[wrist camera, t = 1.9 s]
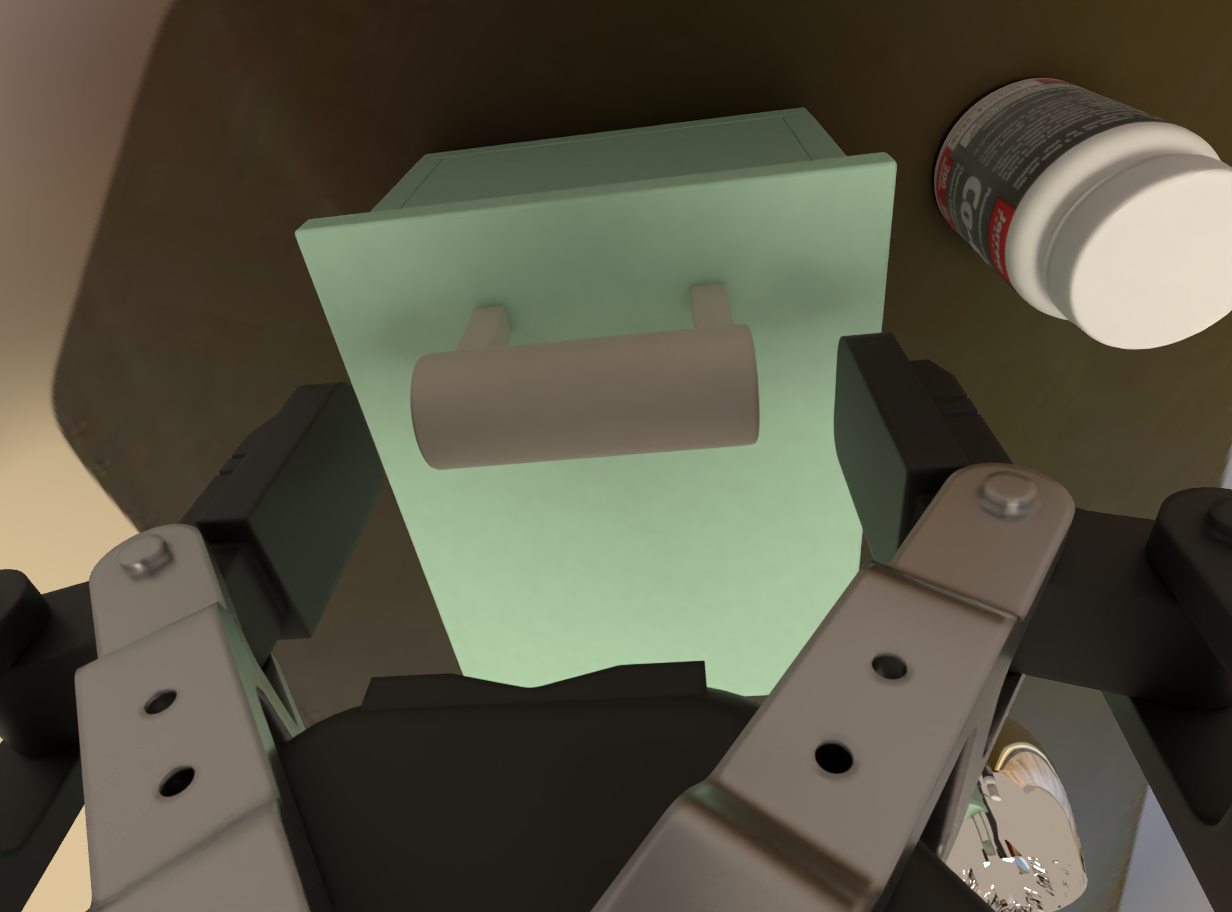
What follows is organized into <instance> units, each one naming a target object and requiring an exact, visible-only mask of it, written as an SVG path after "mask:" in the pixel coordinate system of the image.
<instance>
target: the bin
mask: <svg viewBox="0 0 1232 912" xmlns="http://www.w3.org/2000/svg"><path fill="white" fill-rule="evenodd" d="M838 157H846V155H845V154H844V153H843V151H842V150H841V149H840V148H839V147H838V145H837V144H836V143H835V142H834V141H833V139H832V138H831V137H830V136H829V135H828V133H827V132H826V131H825V130H824V129H823V128H822V126H821V125H820V124H819V123H818V122H817V120H816V119H815V118H814V117H813V116H812V114H811V113H809V112H808V110H807V109H806V108H804V107H801V108H793V109H785V110H777V111H769V112H761V113H753V114H745V115H737V116H729V117H721V118H713V119H705V120H696V121H688V122H680V123H672V124H664V125H656V126H648V127H640V128H632V129H624V130H616V131H608V132H600V133H592V134H584V135H576V136H568V137H560V138H552V139H544V140H536V141H528V142H520V143H512V144H504V145H495V146H487V147H479V148H471V149H463V150H455V151H447V152H439V153H431V154H426V155H424V156H423V157H422V158H421V159H420V161H418V162H417V163H416V164H415V165H414V166H413V167H412V168H411V170H410V171H409V172H408V173H407V174H406V175H405V176H404V177H403V178H402V179H401V180H400V181H399V182H398V183H397V184H396V185H395V186H394V187H393V188H392V189H391V191H390V192H389V193H388V194H387V195H386V196H385V197H384V198H383V199H382V200H381V201H380V202H379V203H378V204H377V205H376V206H375V207H374V208H373V209H372V211H371V212H377V211H385V210H394V209H402V208H411V207H419V206H428V205H436V204H445V203H453V202H462V201H470V200H479V199H488V198H496V197H505V196H513V195H522V194H530V193H539V192H547V191H556V190H564V189H573V188H581V187H590V186H599V185H607V184H616V183H624V182H633V181H641V180H650V179H658V178H667V177H675V176H684V175H692V174H701V173H710V172H718V171H727V170H735V169H744V168H752V167H761V166H769V165H778V164H786V163H795V162H803V161H812V160H821V159H829V158H838Z"/></svg>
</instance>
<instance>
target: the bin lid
mask: <svg viewBox="0 0 1232 912" xmlns="http://www.w3.org/2000/svg"><path fill="white" fill-rule="evenodd" d="M896 171H897V164H896V161H895V160H894V159H892V158H891V157H890V156H889V155H888V154H887V153H885V152H880V153H872V154H863V155H855V156H846V157H838V158H829V159H821V160H812V161H803V162H795V163H786V164H778V165H769V166H761V167H752V168H744V169H735V170H727V171H718V172H710V173H701V174H692V175H684V176H675V177H667V178H658V179H650V180H641V181H633V182H624V183H616V184H607V185H599V186H590V187H581V188H573V189H564V190H556V191H547V192H539V193H530V194H522V195H513V196H505V197H496V198H488V199H479V200H470V201H462V202H453V203H445V204H436V205H428V206H419V207H411V208H402V209H394V210H385V211H377V212H368V213H359V214H351V215H342V216H334V217H325V218H317V219H309V220H308V221H306V222H305V223H304V224H303V225H302V226H301V227H300V228H298V229H297V230H296V231H295V236H296V239H297V241H298V244H299V247H300V249H301V252H302V255H303V257H304V260H305V262H306V265H307V268H308V270H309V273H310V275H311V278H312V281H313V283H314V286H315V288H316V291H317V294H318V296H319V299H320V302H321V304H322V307H323V309H324V312H325V315H326V317H327V320H328V322H329V325H330V328H331V330H332V333H333V336H334V338H335V341H336V343H337V346H338V349H339V351H340V354H341V356H342V359H343V362H344V364H345V367H346V370H347V372H348V375H349V377H350V380H351V383H352V385H353V388H354V390H355V393H356V396H357V398H358V401H359V404H360V406H361V409H362V411H363V414H364V417H365V419H366V422H367V424H368V427H369V430H370V432H371V435H372V437H373V440H374V443H375V445H376V448H377V451H378V453H379V456H380V458H381V461H382V464H383V466H384V469H385V471H386V474H387V477H388V479H389V482H390V485H391V487H392V490H393V492H394V495H395V498H396V500H397V503H398V505H399V508H400V511H401V513H402V516H403V519H404V521H405V524H406V526H407V529H408V532H409V534H410V537H411V539H412V542H413V545H414V547H415V550H416V552H417V555H418V558H419V560H420V563H421V566H422V568H423V571H424V573H425V576H426V579H427V581H428V584H429V586H430V589H431V592H432V594H433V597H434V600H435V602H436V605H437V607H438V610H439V613H440V615H441V618H442V620H443V623H444V626H445V628H446V631H447V634H448V636H449V639H450V641H451V644H452V647H453V649H454V652H455V654H456V657H457V660H458V662H459V665H460V668H461V670H462V673H463V675H464V676H467V677H472V678H478V679H483V680H488V681H494V682H499V683H504V684H510V685H515V686H520V687H528V688H529V687H538V686H543V685H546V684H550V683H554V682H558V681H561V680H565V679H569V678H573V677H576V676H580V675H584V674H588V673H591V672H595V671H599V670H603V669H606V668H610V667H614V666H617V665H627V664H646V663H666V662H686V661H705V671H706V683H707V687H710V688H716V689H721V690H725V691H728V692H732V693H735V694H738V695H742V696H757V695H769V694H770V692H771V691H772V690H773V688H774V687H775V685H776V684H777V683H778V681H779V680H780V679H781V677H782V676H783V674H784V673H785V672H786V670H787V669H788V668H789V666H790V665H791V663H792V662H793V661H794V659H795V658H796V657H797V655H798V654H799V652H800V651H801V650H802V648H803V647H804V646H805V644H806V643H807V641H808V640H809V639H810V637H811V636H812V635H813V633H814V632H815V630H816V629H817V628H818V626H819V625H820V624H821V622H822V621H823V619H824V618H825V617H826V615H827V614H828V613H829V611H830V610H831V608H832V607H833V606H834V604H835V603H836V602H837V600H838V599H839V597H840V596H841V595H842V593H843V592H844V591H845V589H846V588H847V586H848V585H849V584H850V582H851V581H852V580H853V578H854V577H855V575H856V574H857V573H858V571H859V564H860V553H861V543H862V532H863V529H862V526H861V523H860V520H859V517H858V515H857V512H856V509H855V506H854V503H853V500H852V498H851V495H850V492H849V489H848V486H847V483H846V481H845V478H844V475H843V472H842V469H841V466H840V463H839V461H838V457H837V453H836V448H835V441H834V403H835V385H836V366H837V349H838V343H839V339H840V337H841V336H849V335H859V334H870V333H880V332H881V331H882V320H883V309H884V299H885V288H886V277H887V267H888V256H889V246H890V235H891V224H892V214H893V203H894V192H895V182H896Z"/></svg>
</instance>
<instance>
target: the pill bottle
mask: <svg viewBox="0 0 1232 912" xmlns="http://www.w3.org/2000/svg"><path fill="white" fill-rule="evenodd" d="M934 189H935V195H936V200H937V203H938V206H939V209H940V211H941V213H942V215H943V216H944V218H945V219H946V221H947V222H948V223H949V225H950V226H951V227H952V229H954V230H955V231H956V232H957V233H958V234H959V235H960V236H961V237H962V238H963V239H964V240H965V241H966V242H967V243H968V244H969V245H970V246H971V247H972V248H973V249H974V250H975V251H976V252H977V253H978V254H979V255H980V256H981V257H982V258H983V259H984V260H985V261H986V262H987V263H988V264H989V265H990V266H991V267H992V268H993V269H994V270H995V271H996V272H997V273H998V274H999V276H1001V277H1002V278H1003V279H1004V280H1005V282H1006V283H1007V284H1008V285H1009V286H1010V287H1011V288H1012V289H1013V290H1015V291H1016V292H1017V293H1018V294H1019V295H1020V296H1021V297H1022V298H1023V299H1024V300H1025V301H1026V302H1028V303H1029V304H1030V305H1032V306H1033V307H1035V308H1036V309H1037V310H1039V311H1041V312H1043V313H1045V314H1048V315H1051V316H1054V317H1057V318H1061V319H1066V320H1069V321H1071V322H1072V323H1074V324H1075V325H1077V326H1078V327H1079V328H1080V329H1082V330H1083V331H1084V332H1085V333H1086V334H1088V335H1089V336H1090V337H1092V338H1093V339H1095V340H1097V341H1099V342H1101V343H1103V344H1106V345H1109V346H1113V347H1119V348H1123V349H1148V348H1155V347H1160V346H1164V345H1168V344H1171V343H1175V342H1178V341H1180V340H1183V339H1185V338H1187V337H1190V336H1193V335H1194V334H1196V333H1199V332H1201V331H1202V330H1204V329H1206V328H1207V327H1209V326H1211V325H1212V324H1214V323H1215V322H1217V321H1218V320H1220V319H1221V318H1223V317H1224V316H1225V315H1227V314H1228V313H1229V312H1230V311H1231V310H1232V167H1230V166H1228V165H1227V164H1225V163H1223V162H1222V161H1221V160H1220V159H1219V157H1218V155H1217V154H1216V152H1215V151H1214V150H1213V148H1212V147H1211V146H1210V145H1209V144H1208V143H1207V142H1206V141H1205V140H1203V139H1202V138H1201V137H1200V136H1198V135H1196V134H1194V133H1193V132H1191V131H1189V130H1188V129H1186V128H1184V127H1182V126H1180V125H1177V124H1175V123H1172V122H1169V121H1167V120H1164V119H1161V118H1158V117H1156V116H1153V115H1151V114H1148V113H1146V112H1143V111H1141V110H1138V109H1135V108H1133V107H1130V106H1128V105H1125V104H1122V103H1120V102H1117V101H1114V100H1112V99H1109V98H1107V97H1105V96H1102V95H1099V94H1097V93H1094V92H1092V91H1089V90H1086V89H1084V88H1081V87H1079V86H1077V85H1074V84H1071V83H1068V82H1065V81H1062V80H1058V79H1052V78H1033V79H1026V80H1022V81H1018V82H1015V83H1012V84H1009V85H1007V86H1005V87H1002V88H1000V89H998V90H996V91H994V92H992V93H991V94H989V95H987V96H986V97H984V98H983V99H981V100H980V101H979V102H977V103H976V104H975V105H973V106H972V107H971V108H970V109H969V110H968V111H967V112H966V113H965V114H964V115H963V116H962V117H961V118H960V119H959V120H958V122H957V123H956V124H955V125H954V127H953V128H952V130H951V131H950V133H949V134H948V136H947V138H946V140H945V142H944V144H943V146H942V148H941V150H940V153H939V156H938V159H937V163H936V167H935V175H934Z"/></svg>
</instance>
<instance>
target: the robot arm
mask: <svg viewBox="0 0 1232 912" xmlns="http://www.w3.org/2000/svg"><path fill="white" fill-rule="evenodd" d="M966 395H967V394H966V393H965V391H964V390H963V389H962V387H961V386H960V384H959V383H958V381H957V380H956V378H955V377H954V375H952V374H951V373H949V372H947V371H946V370H944V369H943V368H941V367H939V366H938V365H936V364H934V363H933V362H931V361H929V360H918V361H909V360H908V359H907V357H906V355H905V354H904V352H903V350H902V349H901V347H900V345H899V343H898V342H897V340H896V338H895V337H894V335H893V334H892V333H891V332H880V333H870V334H859V335H849V336H841V337H840V339H839V343H838V349H837V366H836V385H835V403H834V441H835V448H836V453H837V457H838V461H839V463H840V466H841V469H842V472H843V475H844V478H845V481H846V483H847V486H848V489H849V492H850V495H851V498H852V500H853V503H854V506H855V509H856V512H857V515H858V517H859V520H860V523H861V526H862V529H863V532H864V534H865V537H866V540H867V543H868V546H869V549H870V552H871V554H872V557H873V560H874V561H873V560H871V561H869V562H867V563H866V564H865V565H864V566H863V567H862V568H861V569H860V570H859V571H858V573H857V574H856V575H855V577H854V578H853V580H852V581H851V582H850V584H849V585H848V586H847V588H846V589H845V591H844V592H843V593H842V595H841V596H840V597H839V599H838V600H837V602H836V603H835V604H834V606H833V607H832V608H831V610H830V611H829V613H828V614H827V615H826V617H825V618H824V619H823V621H822V622H821V624H820V625H819V626H818V628H817V629H816V630H815V632H814V633H813V635H812V636H811V637H810V639H809V640H808V641H807V643H806V644H805V646H804V647H803V648H802V650H801V651H800V652H799V654H798V655H797V657H796V658H795V659H794V661H793V662H792V663H791V665H790V666H789V668H788V669H787V670H786V672H785V673H784V674H783V676H782V677H781V679H780V680H779V681H778V683H777V684H776V685H775V687H774V688H773V690H772V691H771V692H770V694H769V695H768V696H767V698H766V699H765V701H764V702H763V703H762V704H761V703H759V702H756V701H754V700H752V699H749V698H747V697H745V696H742V695H738V694H735V693H732V692H728V691H725V690H721V689H716V688H710V687H707V683H706V671H705V661H686V662H666V663H646V664H627V665H617V666H614V667H610V668H606V669H603V670H599V671H595V672H591V673H588V674H584V675H580V676H576V677H573V678H569V679H565V680H561V681H558V682H554V683H550V684H546V685H543V686H538V687H529V688H528V687H520V686H515V685H510V684H504V683H499V682H494V681H488V680H483V679H478V678H472V677H467V676H462V675H456V674H451V673H449V674H430V675H410V676H390V677H372V678H371V681H370V684H369V686H368V689H367V692H366V694H365V697H364V700H363V703H362V705H361V706H357V707H354V708H351V709H348V710H346V711H343V712H340V713H338V714H335V715H333V716H331V717H329V718H327V719H324V720H322V721H320V722H318V723H316V724H314V725H313V726H311V727H309V728H308V729H306V730H305V728H304V726H303V723H302V721H301V718H300V716H299V713H298V711H297V708H296V706H295V703H294V701H293V698H292V696H291V693H290V691H289V688H288V686H287V683H286V681H285V678H284V676H283V673H282V671H281V668H280V666H279V664H278V662H277V661H276V659H275V657H274V656H273V654H272V652H271V651H272V649H273V647H274V645H275V643H276V641H277V640H283V639H300V638H311V637H312V635H313V633H314V631H315V629H316V627H317V625H318V622H319V620H320V618H321V616H322V614H323V612H324V610H325V608H326V606H327V604H328V601H329V599H330V597H331V595H332V593H333V591H334V589H335V587H336V585H337V583H338V580H339V578H340V576H341V574H342V572H343V570H344V568H345V566H346V564H347V562H348V560H349V557H350V555H351V553H352V551H353V549H354V547H355V545H356V543H357V541H358V539H359V536H360V534H361V532H362V530H363V528H364V526H365V524H366V522H367V520H368V518H369V515H370V513H371V511H372V509H373V507H374V505H375V503H376V501H377V499H378V497H379V494H380V492H381V488H382V481H383V472H382V464H381V460H380V456H379V454H378V451H377V448H376V446H375V443H374V441H373V438H372V435H371V433H370V430H369V427H368V425H367V422H366V420H365V417H364V414H363V412H362V409H361V406H360V404H359V401H358V399H357V396H356V394H355V392H354V390H353V389H352V387H351V386H350V385H349V384H348V383H346V382H338V383H327V384H316V385H306V386H300V387H298V388H297V389H296V390H295V391H294V393H293V394H292V395H291V397H290V398H289V399H288V401H287V402H286V403H285V404H284V406H283V407H282V408H281V410H280V411H279V412H278V414H277V415H276V416H275V417H273V418H271V419H270V420H269V421H267V422H266V423H264V424H263V425H262V426H260V427H259V428H258V429H256V430H255V431H253V432H252V433H251V434H249V435H248V436H247V437H246V438H245V440H244V441H243V442H242V444H241V445H240V446H239V447H238V449H237V450H236V451H235V452H234V454H233V455H232V457H233V459H229V460H228V461H227V462H226V464H225V465H224V466H223V468H222V469H221V470H220V471H219V472H220V475H219V476H215V478H214V479H213V480H212V481H211V483H210V484H209V485H208V487H207V488H206V489H205V490H204V492H203V493H202V494H201V495H200V497H199V498H198V499H197V500H196V502H195V503H194V504H193V506H192V507H191V508H190V509H189V511H188V512H187V513H186V514H185V516H184V517H183V518H182V519H181V521H180V522H179V523H178V524H170V525H164V526H159V527H156V528H152V529H149V530H147V531H144V532H141V533H139V534H137V535H135V536H133V537H131V538H129V539H127V540H126V541H124V542H122V543H121V544H119V545H118V546H116V547H115V548H113V549H112V550H111V551H109V552H108V553H107V554H106V555H105V556H104V557H103V558H102V559H101V560H100V561H99V562H98V564H96V566H95V567H94V569H93V571H92V572H91V575H90V578H89V581H87V582H84V583H81V584H77V585H73V586H70V587H66V588H63V589H59V590H56V591H52V592H49V593H45V594H42V595H41V594H40V592H39V591H38V590H37V589H36V587H35V586H34V585H33V584H32V583H31V581H30V580H29V579H28V578H27V576H26V575H25V574H23V573H22V572H21V571H18V570H12V569H4V570H0V737H1V738H2V739H3V741H2V742H1V743H0V912H21V911H22V910H23V908H24V906H25V904H26V902H27V901H28V899H29V897H30V896H31V894H32V892H33V891H34V889H35V887H36V886H37V884H38V882H39V881H40V879H41V877H42V875H43V874H44V872H45V870H46V868H47V867H48V865H49V863H50V862H51V860H52V858H53V857H54V855H55V853H56V852H57V850H58V848H59V847H60V845H61V843H62V841H63V840H64V838H65V836H66V835H67V833H68V831H69V830H70V828H71V826H72V824H73V823H74V821H75V819H76V817H77V816H78V814H79V812H80V811H81V809H82V807H83V806H84V804H85V814H86V827H87V839H88V852H89V863H90V876H91V889H92V901H91V906H90V908H89V909H88V910H87V911H86V912H996V911H995V910H994V909H993V908H992V907H991V906H990V905H989V904H988V903H986V902H985V901H984V900H983V899H982V898H981V897H980V896H979V895H978V894H977V893H976V892H975V891H974V890H973V889H972V888H971V887H969V886H968V885H967V884H966V883H965V882H964V881H963V880H962V879H961V878H960V877H959V876H958V875H957V874H956V873H955V872H954V871H953V870H951V869H950V868H949V867H948V866H947V865H946V862H947V859H948V857H949V855H950V853H951V850H952V848H953V845H954V843H955V841H956V838H957V836H958V833H959V831H960V828H961V826H962V823H963V820H964V818H965V815H966V812H967V809H968V807H969V804H970V801H971V798H972V795H973V793H974V790H975V788H976V785H977V783H978V780H979V778H980V776H981V773H982V771H983V769H984V767H985V764H986V762H987V760H988V758H989V755H990V753H991V751H992V749H993V746H994V744H995V742H996V740H997V737H998V735H999V733H1000V731H1001V729H1002V726H1003V724H1004V722H1005V720H1006V717H1007V715H1008V713H1009V711H1010V708H1011V706H1012V704H1013V702H1014V699H1015V697H1016V695H1017V693H1018V691H1019V688H1020V686H1021V684H1022V682H1023V679H1024V677H1025V675H1030V676H1035V677H1039V678H1044V679H1049V680H1054V681H1059V682H1063V683H1068V684H1073V685H1078V686H1083V687H1087V688H1092V689H1097V690H1101V691H1102V693H1103V695H1104V697H1105V699H1106V701H1107V703H1108V705H1109V707H1110V709H1111V711H1112V713H1113V714H1114V716H1115V718H1116V720H1117V722H1118V724H1119V726H1120V728H1121V730H1122V732H1123V734H1124V736H1125V738H1126V740H1127V742H1128V744H1129V746H1130V748H1131V750H1132V752H1133V754H1134V756H1135V757H1136V759H1137V761H1138V763H1139V765H1140V767H1141V769H1142V771H1143V773H1144V775H1145V777H1146V779H1147V781H1148V783H1149V785H1150V787H1151V789H1152V791H1153V793H1154V795H1155V797H1156V798H1157V801H1158V802H1159V804H1160V806H1161V808H1162V810H1163V812H1164V814H1165V816H1166V818H1167V820H1168V822H1169V824H1170V826H1171V828H1172V830H1173V832H1174V834H1175V836H1176V838H1177V839H1178V842H1179V843H1180V846H1181V847H1182V849H1183V851H1184V853H1185V855H1186V857H1187V859H1188V861H1189V863H1190V865H1191V867H1192V869H1193V871H1194V873H1195V875H1196V877H1197V879H1198V881H1199V883H1200V884H1201V886H1202V889H1203V890H1204V892H1205V894H1206V896H1207V898H1208V900H1209V902H1210V904H1211V906H1212V908H1213V910H1214V912H1232V490H1231V489H1224V488H1209V487H1202V488H1191V489H1186V490H1182V491H1179V492H1176V493H1174V494H1172V495H1170V496H1169V497H1167V498H1166V499H1165V500H1164V502H1163V503H1162V505H1161V507H1160V510H1159V512H1158V515H1157V518H1156V520H1151V519H1144V518H1136V517H1128V516H1121V515H1113V514H1106V513H1099V512H1093V511H1087V510H1083V509H1079V508H1075V504H1074V502H1073V499H1072V497H1071V496H1070V494H1069V493H1068V491H1067V490H1066V489H1065V488H1064V487H1063V486H1062V485H1061V484H1059V483H1058V482H1057V481H1055V480H1054V479H1052V478H1050V477H1049V476H1047V475H1045V474H1043V473H1040V472H1038V471H1036V470H1033V469H1030V468H1027V467H1023V466H1018V465H1014V464H1013V463H1012V461H1011V460H1010V458H1009V457H1008V455H1007V454H1006V452H1005V451H1004V449H1003V448H1002V446H1001V445H1000V443H999V442H998V440H997V439H996V437H995V436H994V434H993V433H992V431H991V430H990V429H989V427H988V426H987V424H986V423H985V421H984V420H983V418H982V417H981V415H978V414H977V409H976V408H975V406H974V405H973V403H972V402H971V400H970V399H969V398H968V399H967V397H966Z"/></svg>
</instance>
